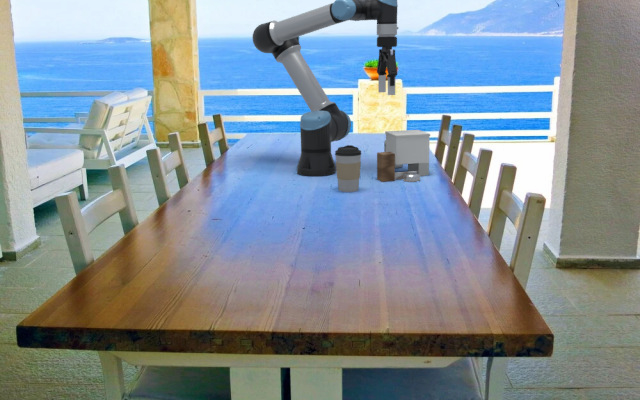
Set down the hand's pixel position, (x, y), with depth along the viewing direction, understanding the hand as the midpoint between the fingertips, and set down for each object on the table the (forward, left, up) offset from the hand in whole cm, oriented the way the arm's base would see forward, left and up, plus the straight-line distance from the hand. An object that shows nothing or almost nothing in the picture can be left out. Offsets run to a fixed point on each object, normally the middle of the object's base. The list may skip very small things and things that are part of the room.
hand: (386, 93), depth 261 cm
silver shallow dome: (+3, -19, -30) cm, 36 cm away
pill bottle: (+6, +8, -30) cm, 32 cm away
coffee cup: (-23, -28, -30) cm, 47 cm away
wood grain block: (-1, -16, -30) cm, 34 cm away
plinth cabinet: (+6, -7, -30) cm, 31 cm away
